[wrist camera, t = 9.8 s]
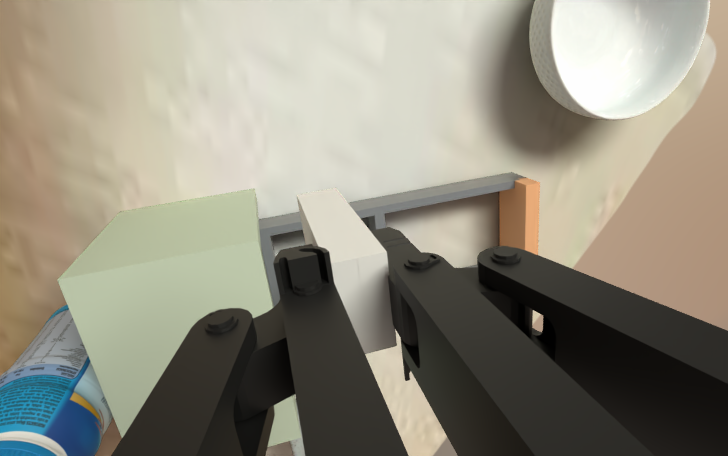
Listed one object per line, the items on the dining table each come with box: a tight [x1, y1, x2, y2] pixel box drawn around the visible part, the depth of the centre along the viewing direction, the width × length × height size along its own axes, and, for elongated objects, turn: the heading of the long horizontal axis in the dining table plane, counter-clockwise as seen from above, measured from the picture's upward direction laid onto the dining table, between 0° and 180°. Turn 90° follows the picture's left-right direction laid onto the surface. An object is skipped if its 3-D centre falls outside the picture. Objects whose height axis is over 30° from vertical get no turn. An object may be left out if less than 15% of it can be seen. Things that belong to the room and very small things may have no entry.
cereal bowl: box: [529, 0, 710, 120], centre depth 42 cm, size 17×17×7 cm
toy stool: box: [58, 189, 301, 447], centre depth 37 cm, size 17×12×14 cm
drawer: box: [259, 172, 540, 307], centre depth 45 cm, size 11×28×5 cm, turn 97°
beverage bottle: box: [0, 304, 113, 456], centre depth 34 cm, size 8×8×20 cm
